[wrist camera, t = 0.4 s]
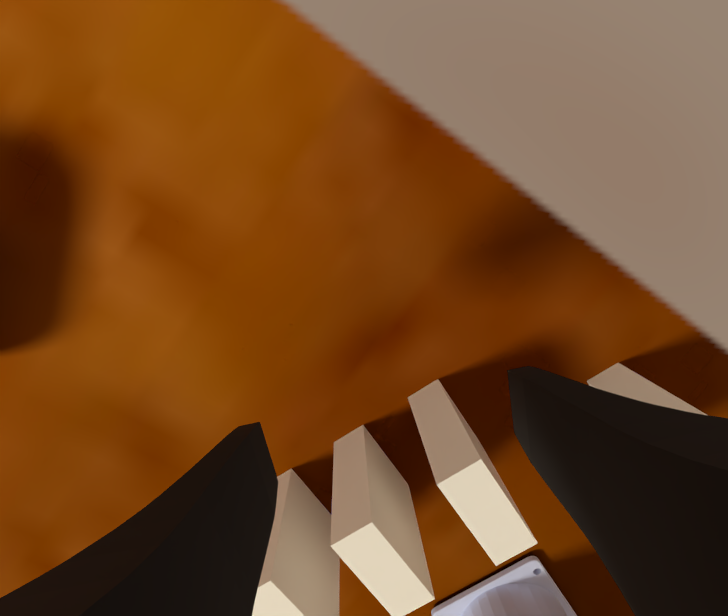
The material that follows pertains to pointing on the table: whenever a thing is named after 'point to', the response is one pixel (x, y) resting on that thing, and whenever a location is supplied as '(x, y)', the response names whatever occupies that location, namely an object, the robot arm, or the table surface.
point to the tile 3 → (377, 525)
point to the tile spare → (637, 388)
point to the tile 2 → (298, 557)
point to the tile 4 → (468, 475)
